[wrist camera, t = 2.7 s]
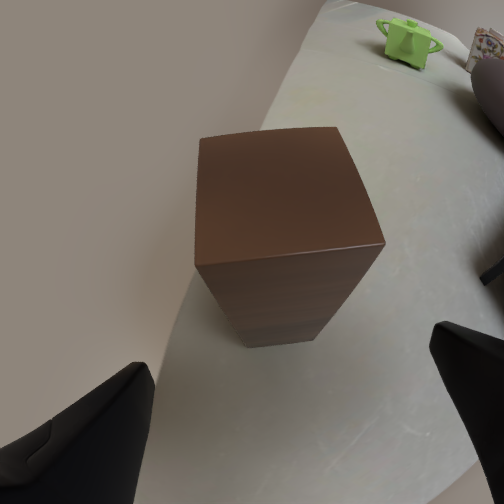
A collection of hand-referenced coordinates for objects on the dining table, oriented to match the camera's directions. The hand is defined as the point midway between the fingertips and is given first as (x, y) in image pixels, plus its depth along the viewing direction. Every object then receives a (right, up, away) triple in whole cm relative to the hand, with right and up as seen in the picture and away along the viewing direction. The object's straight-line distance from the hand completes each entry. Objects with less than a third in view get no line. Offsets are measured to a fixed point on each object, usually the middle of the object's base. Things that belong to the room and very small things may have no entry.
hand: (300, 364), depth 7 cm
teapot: (+32, +45, +34) cm, 65 cm away
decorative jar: (+65, +53, +36) cm, 91 cm away
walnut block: (0, -1, +12) cm, 12 cm away
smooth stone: (+47, +25, +22) cm, 58 cm away
